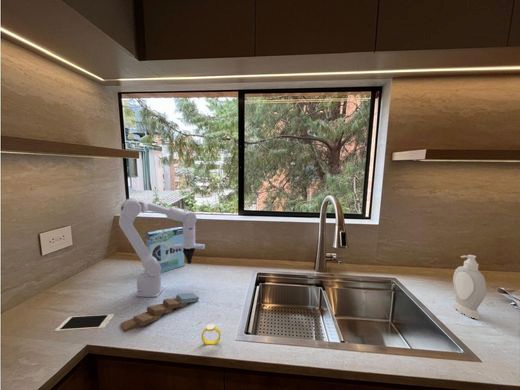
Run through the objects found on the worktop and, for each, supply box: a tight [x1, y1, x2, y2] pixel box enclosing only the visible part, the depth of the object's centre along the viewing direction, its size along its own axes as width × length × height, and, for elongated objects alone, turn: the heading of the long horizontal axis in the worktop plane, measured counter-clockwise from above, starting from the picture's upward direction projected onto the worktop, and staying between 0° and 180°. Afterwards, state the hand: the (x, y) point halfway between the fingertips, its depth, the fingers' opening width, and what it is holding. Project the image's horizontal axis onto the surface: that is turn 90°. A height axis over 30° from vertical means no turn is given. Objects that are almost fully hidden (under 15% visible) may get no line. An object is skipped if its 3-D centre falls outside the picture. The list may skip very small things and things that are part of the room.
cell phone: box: [54, 313, 115, 332], centre depth 87 cm, size 8×16×1 cm, turn 98°
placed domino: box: [175, 292, 200, 304], centre depth 101 cm, size 2×5×8 cm
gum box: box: [145, 226, 185, 273], centre depth 132 cm, size 20×5×23 cm, turn 134°
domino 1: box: [120, 317, 141, 333], centre depth 86 cm, size 2×5×8 cm
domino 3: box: [146, 303, 174, 315], centre depth 92 cm, size 2×5×8 cm
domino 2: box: [132, 310, 162, 326], centre depth 87 cm, size 2×5×8 cm
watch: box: [201, 323, 222, 346], centre depth 77 cm, size 6×3×6 cm, turn 94°
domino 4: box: [162, 297, 188, 309], centre depth 97 cm, size 2×5×8 cm
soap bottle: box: [452, 254, 487, 320], centre depth 96 cm, size 13×8×24 cm, turn 9°
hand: (189, 262), depth 117 cm, fingers closed
